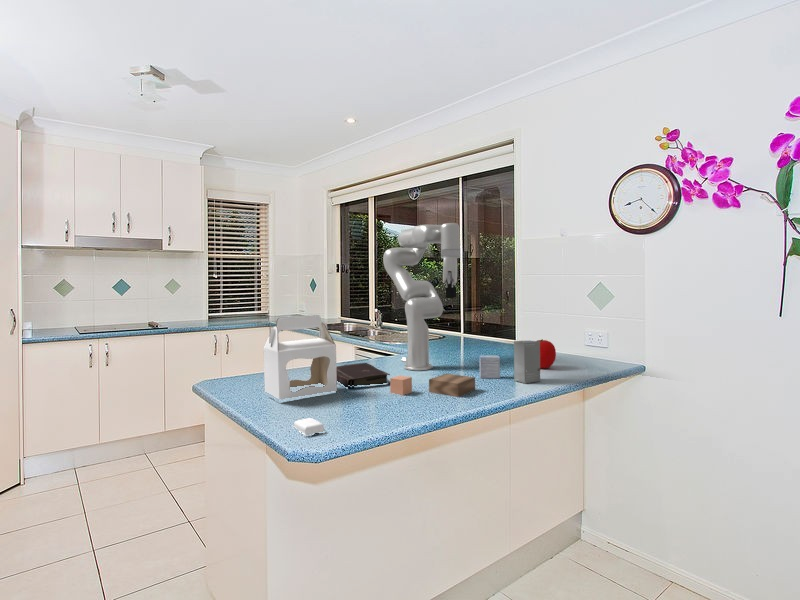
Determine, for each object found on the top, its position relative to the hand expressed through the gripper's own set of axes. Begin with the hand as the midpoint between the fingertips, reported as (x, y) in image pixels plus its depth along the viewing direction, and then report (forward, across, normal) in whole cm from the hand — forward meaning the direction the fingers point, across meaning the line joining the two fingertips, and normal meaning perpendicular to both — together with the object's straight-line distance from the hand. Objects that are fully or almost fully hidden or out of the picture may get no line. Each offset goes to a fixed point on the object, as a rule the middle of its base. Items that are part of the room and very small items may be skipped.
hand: (451, 297), depth 192 cm
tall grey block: (+33, 0, +29) cm, 44 cm away
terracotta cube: (+33, +25, -16) cm, 44 cm away
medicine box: (+33, -5, +14) cm, 36 cm away
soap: (+34, +70, -33) cm, 84 cm away
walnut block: (+33, +20, +2) cm, 39 cm away
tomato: (+33, -27, +37) cm, 57 cm away
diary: (+33, +9, -37) cm, 50 cm away
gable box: (+33, +33, -51) cm, 69 cm away
